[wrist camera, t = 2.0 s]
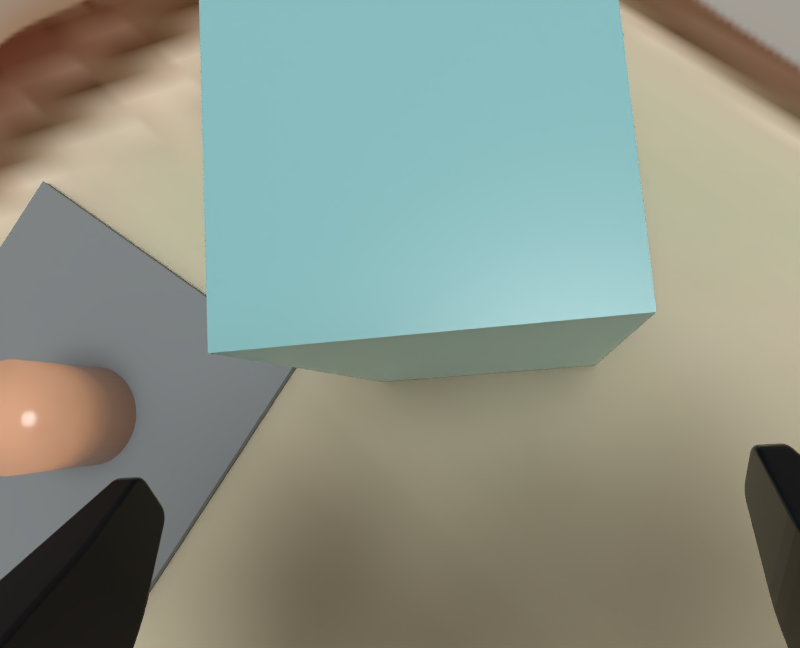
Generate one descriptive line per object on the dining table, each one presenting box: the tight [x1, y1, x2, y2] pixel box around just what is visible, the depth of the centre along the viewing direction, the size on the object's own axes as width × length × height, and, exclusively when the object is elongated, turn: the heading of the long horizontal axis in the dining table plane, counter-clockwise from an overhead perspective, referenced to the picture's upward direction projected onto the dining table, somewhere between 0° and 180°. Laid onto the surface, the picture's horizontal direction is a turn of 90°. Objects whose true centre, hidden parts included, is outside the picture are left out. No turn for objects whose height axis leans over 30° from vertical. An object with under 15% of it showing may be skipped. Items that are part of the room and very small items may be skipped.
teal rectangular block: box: [199, 0, 656, 382], centre depth 16 cm, size 7×7×12 cm
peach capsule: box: [0, 359, 136, 477], centre depth 22 cm, size 4×4×4 cm
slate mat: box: [0, 182, 295, 592], centre depth 25 cm, size 14×13×1 cm
